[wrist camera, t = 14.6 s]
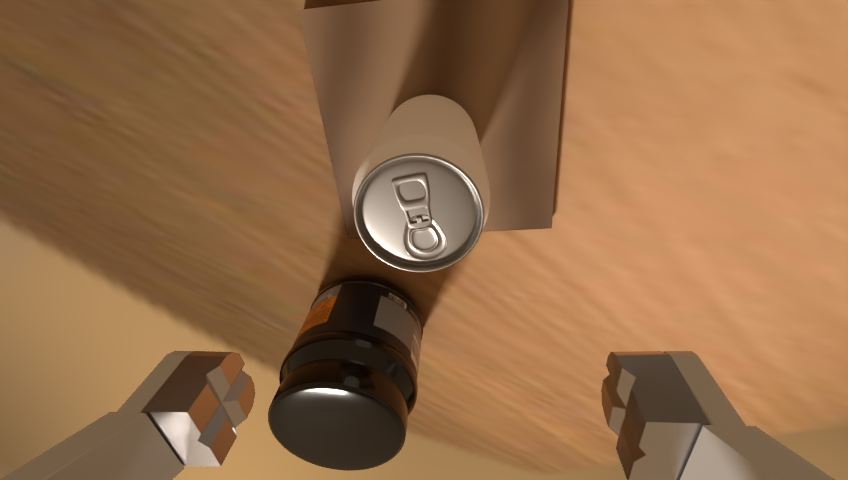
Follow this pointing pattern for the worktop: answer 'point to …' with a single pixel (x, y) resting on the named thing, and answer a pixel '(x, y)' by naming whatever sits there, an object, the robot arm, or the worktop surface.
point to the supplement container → (350, 376)
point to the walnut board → (447, 87)
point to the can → (422, 187)
